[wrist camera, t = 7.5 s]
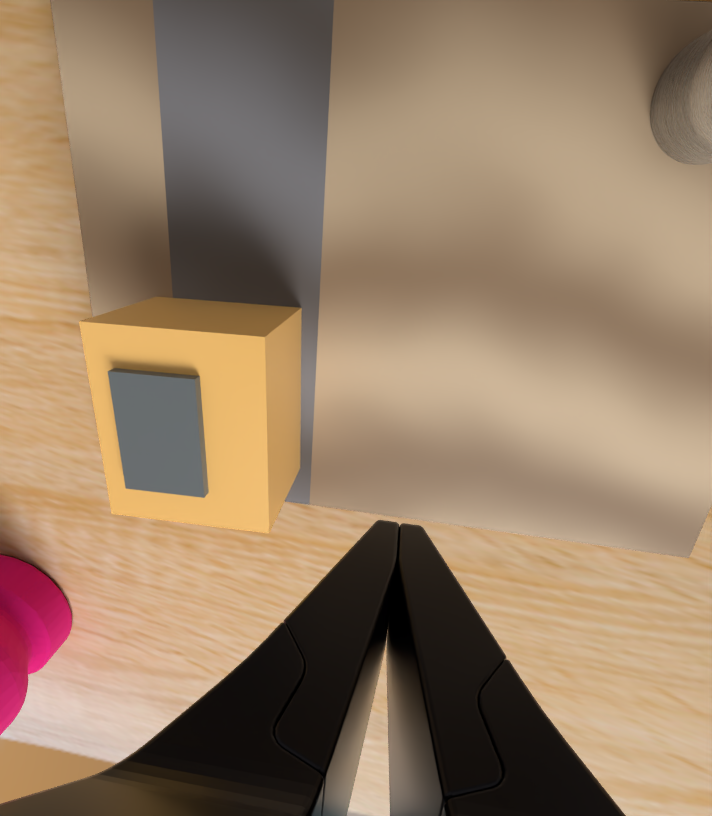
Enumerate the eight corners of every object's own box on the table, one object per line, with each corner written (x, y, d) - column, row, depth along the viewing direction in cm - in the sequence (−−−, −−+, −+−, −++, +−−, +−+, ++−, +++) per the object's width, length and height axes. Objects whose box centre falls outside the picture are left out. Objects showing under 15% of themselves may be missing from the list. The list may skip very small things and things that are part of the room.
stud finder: (300, 467, 18) (266, 539, 14) (173, 454, 19) (105, 519, 15) (301, 307, 16) (261, 340, 12) (156, 296, 16) (71, 324, 12)
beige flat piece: (675, 540, 18) (688, 558, 17) (127, 465, 20) (114, 477, 19) (886, 26, 12) (924, 11, 11) (70, -14, 14) (46, -29, 13)
